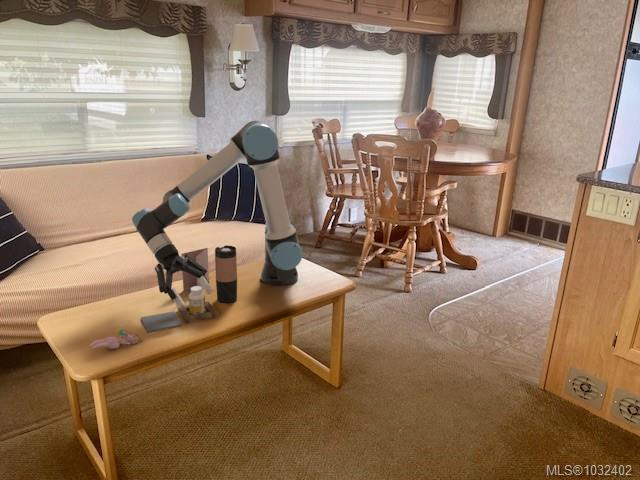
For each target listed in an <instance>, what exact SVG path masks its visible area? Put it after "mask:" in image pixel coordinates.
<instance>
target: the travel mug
mask: <svg viewBox="0 0 640 480" xmlns="http://www.w3.org/2000/svg"><path fill="white" fill-rule="evenodd" d="M214 259H215V260H214V262H215V264H214V266H215V285H216V286H215V287H216V297H217V299H216V300H217V302H218V303H219V304H223V305H229V304H234V303H235V302H236V301H238V267H237V266H238V265H237V264H238V263H237V262H238V260H237V248H236V247H235V246H232V245H224V246H222V247H220V246H216V247H215V248H214Z"/></svg>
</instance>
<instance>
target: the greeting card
mask: <svg viewBox="0 0 640 480" xmlns="http://www.w3.org/2000/svg"><path fill="white" fill-rule="evenodd" d="M208 249H209V248H208V247H204V248H201V249H200V248H199V249H195V250H192V251H188V252H184V253H181V254H180V255H181V256H180V257H183V256H184V255H185V254H188V255H189V257H190V258H191V259H192V260H194V261H195V262H196V263H198V264H199V265H201V266H202V267H203V268H205V269H206V270H207V272H206V274H205V277H206V278H207V280H208V281H209V282H210V277H209V276H210V275H209V274H210V273H209V255H208V254H209V253H208V252H209V250H208ZM181 272H182V274H181V275H182V287H183V291H188V290H191V288H192V287H194V286H200V287H202V285H201V284H200V282H199V281H198V280H199V279H200V278H198V277H195V276H193V275H191V274H189V273H187V272H185V271H181ZM202 272H203V271H202ZM199 275H200V274H199ZM202 289H203V290H204V288H203V287H202Z"/></svg>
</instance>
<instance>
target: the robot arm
mask: <svg viewBox="0 0 640 480" xmlns="http://www.w3.org/2000/svg"><path fill="white" fill-rule="evenodd" d="M278 143H279V139H278V136H277V133H276V132H275V130H274V129H273V128H272V127H271V126H270V125H269V124H266V123H265V122H263V121H260V120H252V121H249V122H248V123H246V124H245V125H244V126H243V127H241V129H240V130H239V131H237V133H235V135H233V136H232V137H230V139H229V143H228V144H226V146H223V148H222V149H220V150H219V151H218V152H216V154H214V155H213V156H212V157H210V158H209V159H208V160H206V161H205V162H204V163H203V164H202V165H201V166H199V167H198V168H196V170H194V171H193V172H192V173H191V174H190V175H188V176H186V178H184V179H183V180H182V181H181V182H180V183H178V184H177V185H176V186H175V187H174V188H172V189H169V190H168V191H166V193H164V196H163V197H162V202H161V204H159V205H158V206H157V207H155V208H153V210H151V209H150V208H142V209H141V210H139V211H137V212H135V213H134V215H132V218H131V222H132V224H133V226H134V227H135V230H136V231H137V232H138V234H139V235H140V237H141V238H142V239H143V241H144V242H145V244H146V245H147V247H148V248H149V250H150V252H151V254H153V255H154V257H155V259H156V261H157V262H158V263H157V264H156V265H155V267H154V270H155V271H154V272H156V277H157V282H158V289H159V293H161V294H162V293H164V294H167V295H168V296H169V298H170V299H171V301H174V303H175V305H176V306H177V308H178V307H179V308H181V307H182V306H184V305H186V303H185V301H183V299H182V297H181V296H180V294H179V293H178V291H177V289H176V288H175V287H172V286H173V276H174V275H173V274H175V273H178V272H180V271H181V272H182V271H185V272H187V273H189V274H191V275H193V276H195V277H198V278H200V279H199V280H198V281H199V282H200V284H201V285H202V287H203V288H204V289H203V291H205V293H206V294H207V295H211V294H212V293H213V292H214V289H213V287H212V286H211V285H210V280H209V281H208V280H207V278H206V277H205V274H206V272H207V270H206V269H205V268H203V267H202V266H201V265H199V264H198V263H196V262H195V261H194V260H192V259H191V258H190V257H189V255H188V254H185V255H184V256H183V257H181V256H180V254H179V250H178V249H177V247H176V246H175V245H174V243H173V241H172V240H171V238H170V237H169V235H168V234H167V232H166V231H165V229H166V228H168V227H169V226H170V225H172V224H174V222H176V221H177V220H179V219H180V218H181V217H183V216H185V214H187V213H188V212H189V211H190V210H191V206H190V204H189V203H190V202H191V201H192V200H194V199H195V198H196V197H198V196H199V195H200V194H201V193H203V192H204V191H205V190H206V189H208V188H209V187H210V186H211V185H212V184H214V183H215V182H217V180H219V179H220V178H221V177H223V176H224V175H225V174H226V173H228V172H229V171H230V170H231V169H233V167H235V166H237V164H239V163H240V162H241V161H243V160H246V165H247V166H249V167H250V168H252V170H253V172H254V173H253V174H254V178H255V182H256V186H257V189H258V190H257V191H258V195H259V199H260V203H261V207H262V212H263V215H264V219H265V223H266V226H265V227H264V263H263V266H262V268H261V269H262V270H261V273H260V280H261V281H262V283H264V284H267V285H271V286H278V287H279V286H289V285H292V284H294V283H296V282H297V281H298V280H299V273H298V270H297V266H299V264H300V263H301V261H302V259H303V248H301V247H302V246H300V244H299V238H298V233H297V229H296V228H295V226H294V225H293V224H291V221H290V217H289V212H288V207H287V204H286V199H285V198H286V197H285V195H284V189H283V186H282V185H283V184H282V181H281V176H280V171H279V168H278V163H279V161H280V159H281V157H280V156H281V155H280V153H279V148H278V145H279V144H278ZM165 270H166V271H165ZM202 271H203V272H202ZM199 274H200V275H199ZM165 276H166V277H165Z"/></svg>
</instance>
